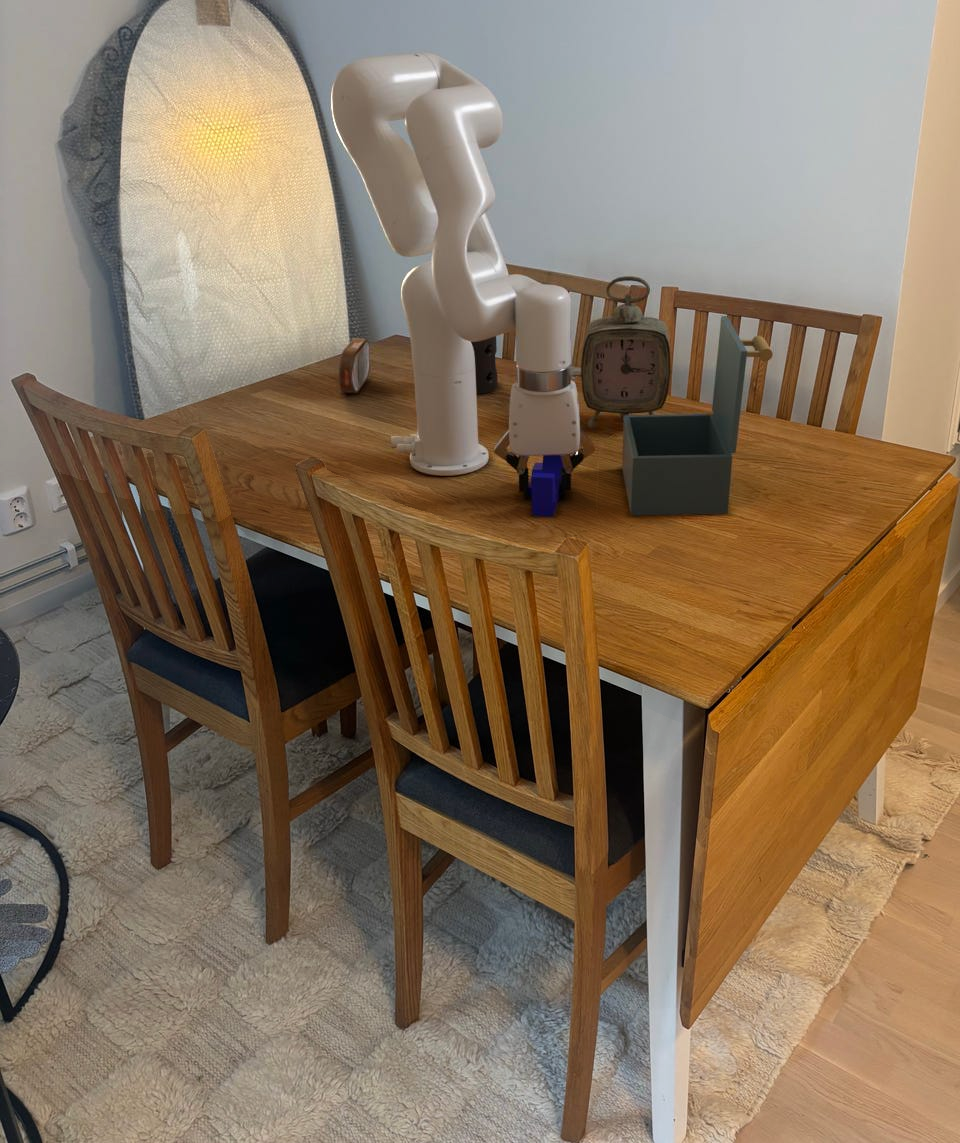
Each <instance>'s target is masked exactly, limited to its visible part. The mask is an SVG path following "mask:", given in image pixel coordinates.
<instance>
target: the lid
mask: <svg viewBox="0 0 960 1143" xmlns="http://www.w3.org/2000/svg"><path fill="white" fill-rule="evenodd" d="M717 345H718V346H717V356H716V366H715V377H714V386H713V396H712V406H711V411H712V414H714V416H715V419H716V421H717V423H718V426H719V428H720V430H721V433H722V435H723V438H724V440H725V442H726V445H727V447H728V449H729V452H730V453H731V454H736V453H737V445H738V439H739V438H738V436H739V430H740V429H739V428H740V420H741V419H740V418H741V410H742V399H743V394H744V383H745V376H746V365H747V358H759V359H760V361H762V362H768V361H770V360H772V358H773V355H774V353H773V350H772V349H771V347H770V345H769V343H768V342H767V341H766V339H765V338H764V337H763V336H762V335H756V336H754V337H753V338H752V339H741V338H740V337H739V334H738V333H737V331H736V330H735V328H734V326H733V324H732V322H731V320H730V319H729V317H728V316H727V315H721V316H720V326H719V336H718V344H717ZM746 347H753V349H754V350H747V348H746Z"/></svg>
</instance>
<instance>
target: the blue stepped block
mask: <svg viewBox="0 0 960 1143" xmlns="http://www.w3.org/2000/svg"><path fill="white" fill-rule="evenodd" d="M562 464H563V463H562V460H561V456H560V455H543V456H542V462H534V464H533V466H532V468H531V475H530V480H529V498H531V516H533V517H534V516H536V517H551V518H552V517H554V516H555V515H554V514H555V512H556V508H557V505H558V503H559V499H560V496H561V467H562Z"/></svg>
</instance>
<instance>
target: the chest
mask: <svg viewBox="0 0 960 1143" xmlns="http://www.w3.org/2000/svg"><path fill="white" fill-rule="evenodd" d="M622 426H623V429H622V456H621V457H622V460H621V470H622V475H623V481H624V485H625V491H626V495H627V501H628V506H629V511H630V516H680V515H681V516H682V515H683V516H685V515H689V516H690V515H728V514H729V502H730V492H731V481H732V480H731V479H732V468H733V453H730V452H729V449H728V447H727V445H726V442H725V440H724V438H723V435H722V433H721V430H720V428H719V426H718V423H717V421H716V419H715V416H714V414H713V413H677V414H676V413H675V414H674V413H673V414H670V413H668V414H654V415H650V414H629V415H624V419H623V424H622Z"/></svg>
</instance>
